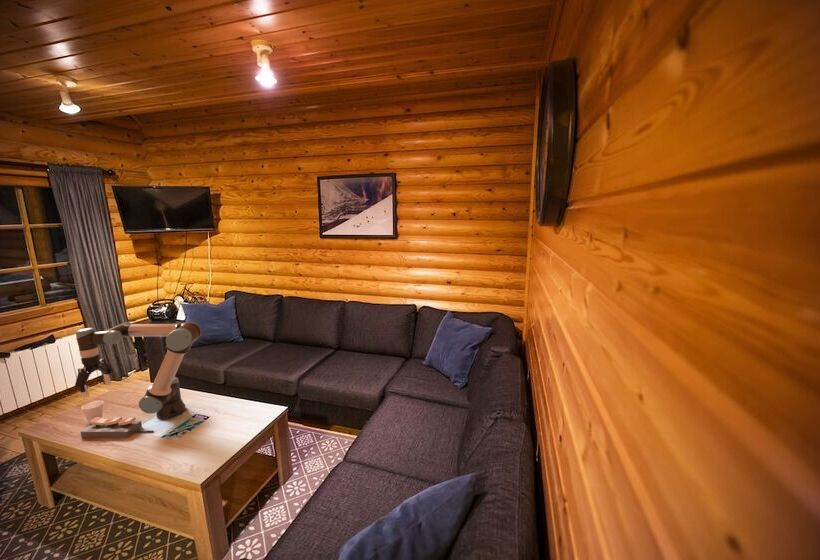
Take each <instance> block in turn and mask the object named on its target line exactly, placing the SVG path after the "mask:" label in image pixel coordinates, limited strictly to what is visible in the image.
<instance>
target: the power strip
mask: <svg viewBox="0 0 820 560" xmlns="http://www.w3.org/2000/svg"><path fill="white" fill-rule="evenodd" d="M119 422H120V421H119ZM119 422H118V423H119ZM118 423H116V424H111V425H106V426H105V425H103V426H101V425H96V424H90V425H89V426H87V427H86V428H84V429H82V430H81V431H80V436H81V439H128V438H130V437H131V436H133V435H134V434H135V433H154V432H155V431H154V430H141V429H142V427H143V425H142V420H134V421H133V422H132V423H130V424H125V425H120V426H119V425H118Z"/></svg>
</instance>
